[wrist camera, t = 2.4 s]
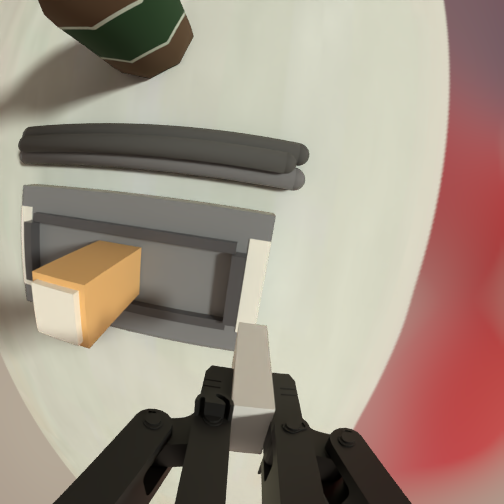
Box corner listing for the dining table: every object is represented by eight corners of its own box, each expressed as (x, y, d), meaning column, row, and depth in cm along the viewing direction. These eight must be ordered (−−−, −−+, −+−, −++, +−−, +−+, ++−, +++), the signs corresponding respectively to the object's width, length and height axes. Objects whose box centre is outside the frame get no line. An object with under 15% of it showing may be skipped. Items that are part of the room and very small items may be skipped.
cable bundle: (26, 163, 22) (6, 163, 19) (31, 128, 21) (12, 125, 18) (300, 191, 23) (308, 193, 20) (308, 147, 22) (316, 141, 19)
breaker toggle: (99, 240, 22) (26, 274, 13) (141, 247, 22) (78, 289, 13) (98, 284, 23) (34, 335, 14) (139, 293, 23) (85, 353, 14)
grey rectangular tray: (35, 184, 23) (14, 186, 20) (273, 213, 24) (277, 218, 20) (37, 293, 26) (19, 304, 22) (250, 342, 26) (250, 362, 23)
